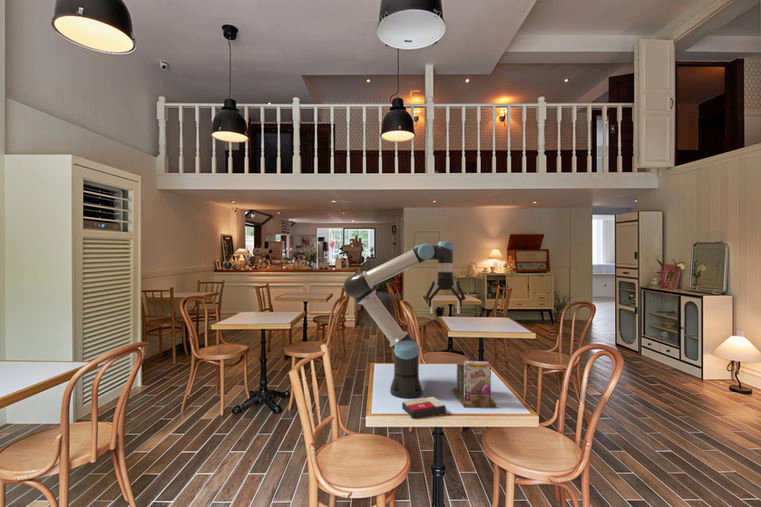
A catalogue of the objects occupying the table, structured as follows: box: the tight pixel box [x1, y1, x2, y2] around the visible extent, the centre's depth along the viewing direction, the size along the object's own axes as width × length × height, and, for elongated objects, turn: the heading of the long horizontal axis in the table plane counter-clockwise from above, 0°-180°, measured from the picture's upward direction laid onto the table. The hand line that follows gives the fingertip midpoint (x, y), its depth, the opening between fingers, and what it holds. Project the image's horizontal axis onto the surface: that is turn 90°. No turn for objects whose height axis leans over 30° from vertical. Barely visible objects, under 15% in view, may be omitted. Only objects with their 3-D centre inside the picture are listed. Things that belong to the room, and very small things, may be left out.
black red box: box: [401, 396, 447, 419], centre depth 152 cm, size 11×4×15 cm
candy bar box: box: [463, 360, 492, 402], centre depth 162 cm, size 11×5×16 cm, turn 85°
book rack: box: [452, 362, 497, 408], centre depth 168 cm, size 14×21×14 cm, turn 2°
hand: (445, 313), depth 186 cm, fingers open, 13 cm apart
